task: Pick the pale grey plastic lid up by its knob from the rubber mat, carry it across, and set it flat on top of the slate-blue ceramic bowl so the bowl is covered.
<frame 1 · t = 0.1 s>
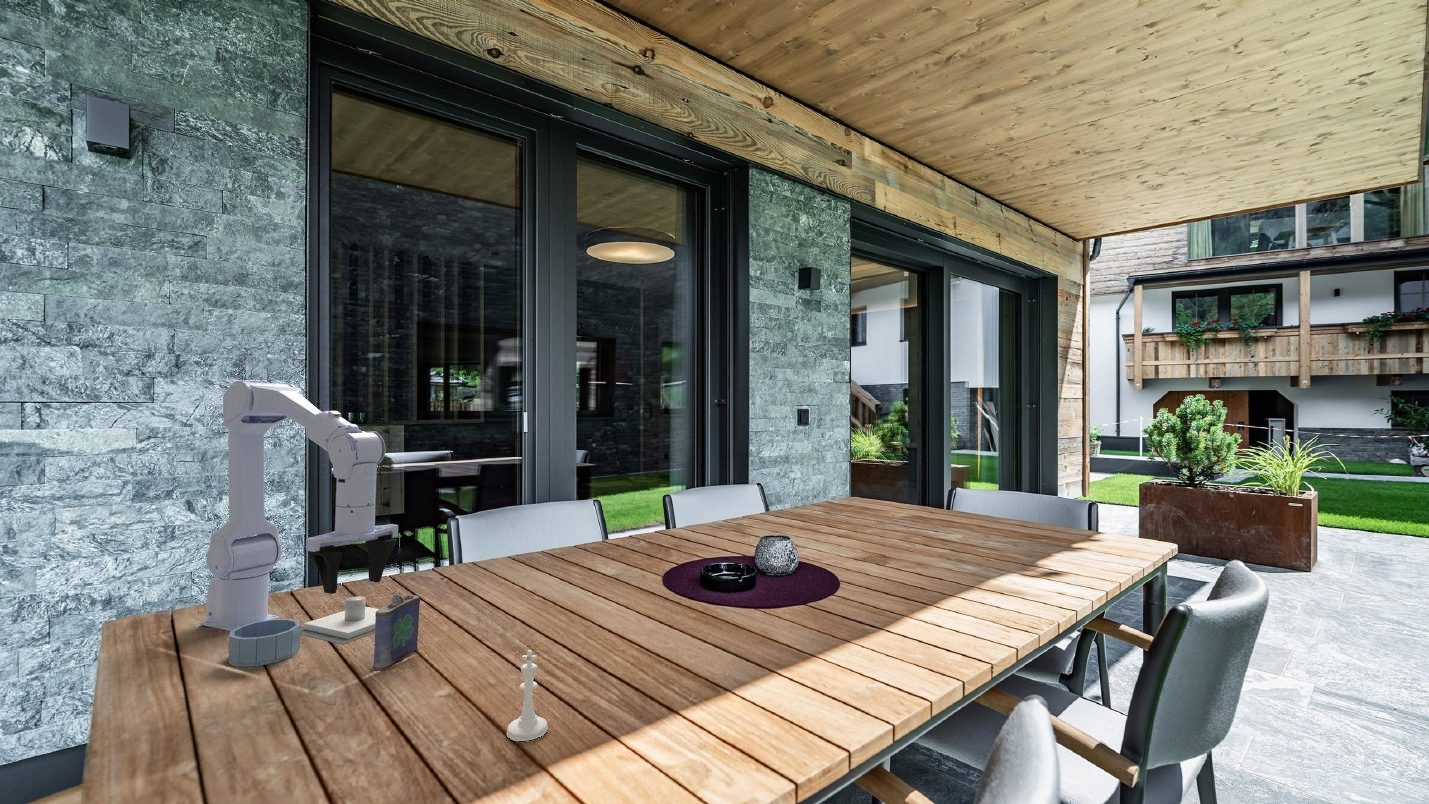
hand: (353, 586, 102), 10 cm above the table, tool pointing down, fingers open, 7 cm apart
chess piece: (527, 733, 77), on the table
flask: (395, 660, 98), on the table
mat: (354, 626, 112), on the table
lid: (354, 623, 112), resting on mat
bowl: (264, 657, 97), on the table
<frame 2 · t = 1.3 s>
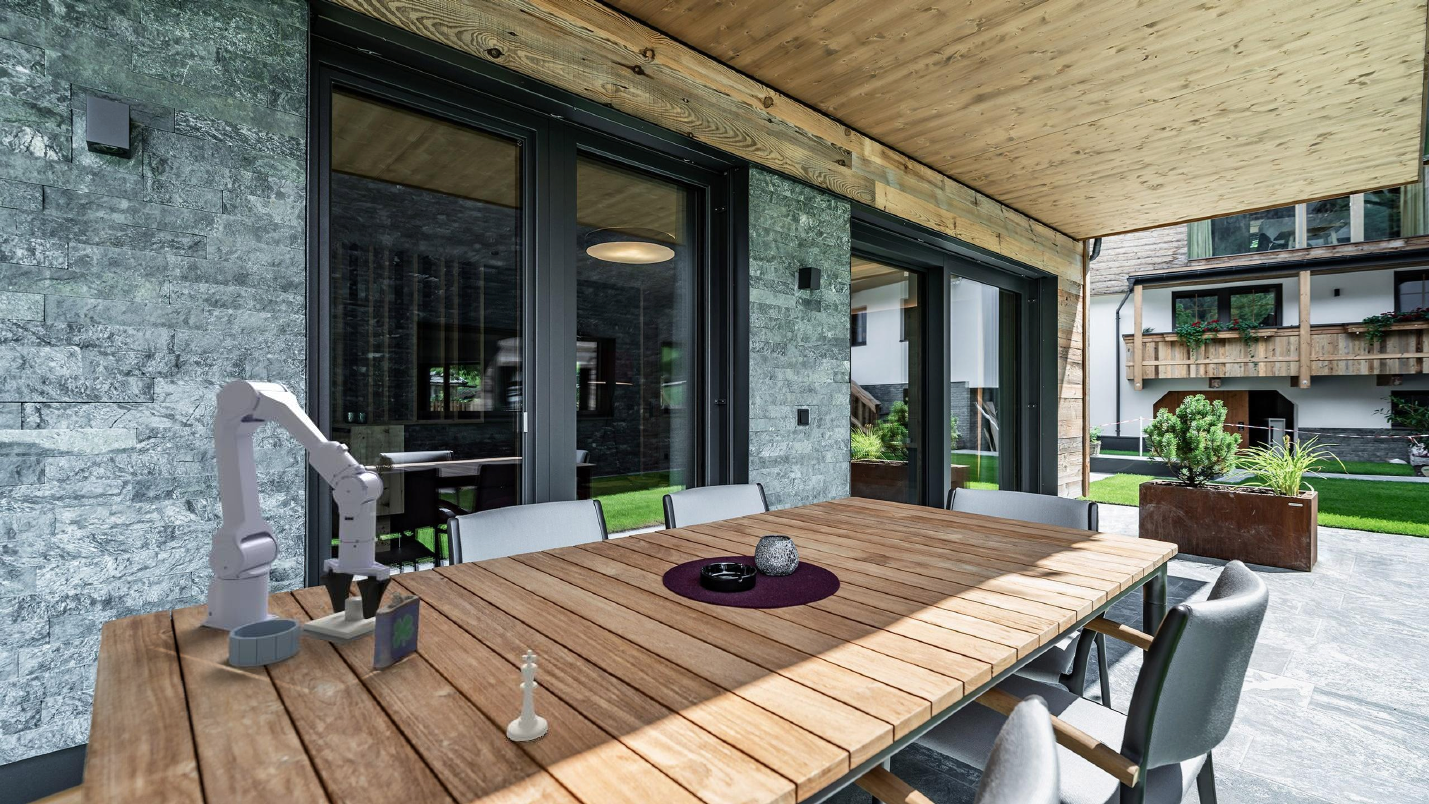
hand: (355, 614, 112), 2 cm above the table, tool pointing down, fingers open, 7 cm apart
nothing on the table moved.
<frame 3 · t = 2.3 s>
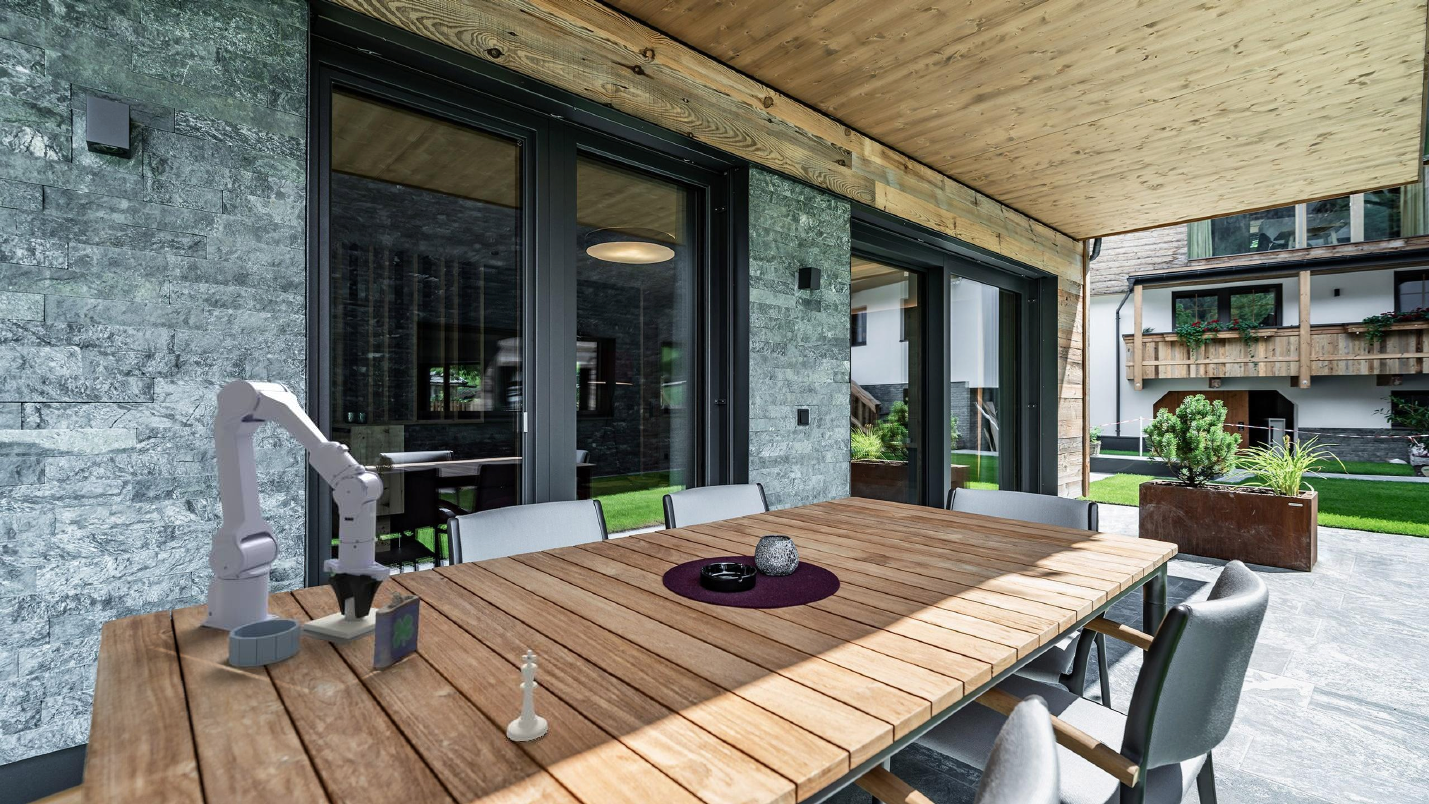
hand: (354, 615, 112), 2 cm above the table, tool pointing down, fingers closed on lid, 3 cm apart
lid: (354, 623, 112), resting on mat, touching gripper
everything else where it was.
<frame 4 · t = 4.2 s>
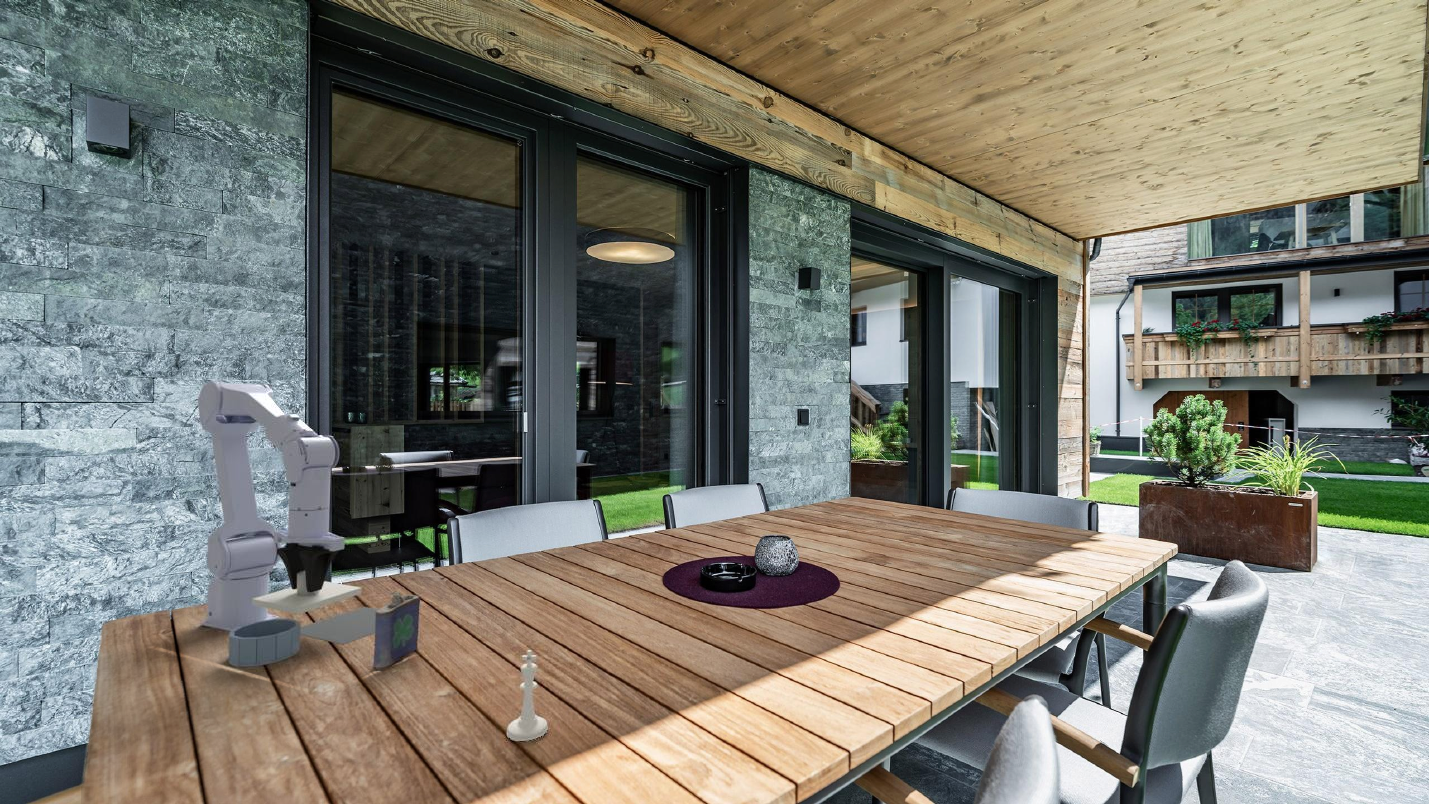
hand: (306, 589, 103), 9 cm above the table, tool pointing down, fingers closed on lid, 3 cm apart
lid: (308, 598, 104), point 7 cm above the table, touching gripper
everything else where it was.
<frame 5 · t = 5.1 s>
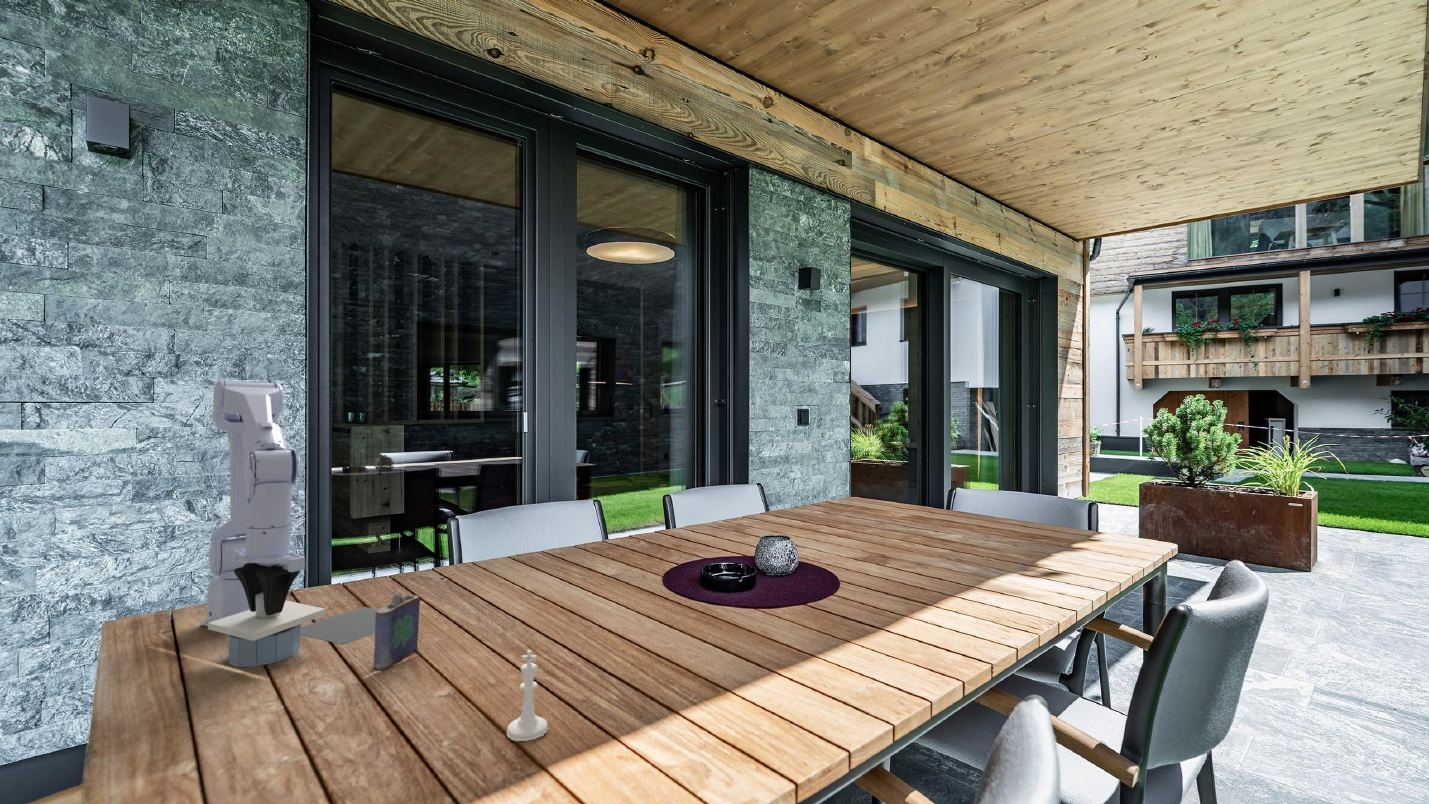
hand: (266, 611, 97), 7 cm above the table, tool pointing down, fingers closed on lid, 3 cm apart
lid: (268, 621, 98), point 5 cm above the table, touching gripper
everything else where it was.
when the fingers open (7 cm above the table, at t = 5.8 s): lid stays where it is, resting on bowl.
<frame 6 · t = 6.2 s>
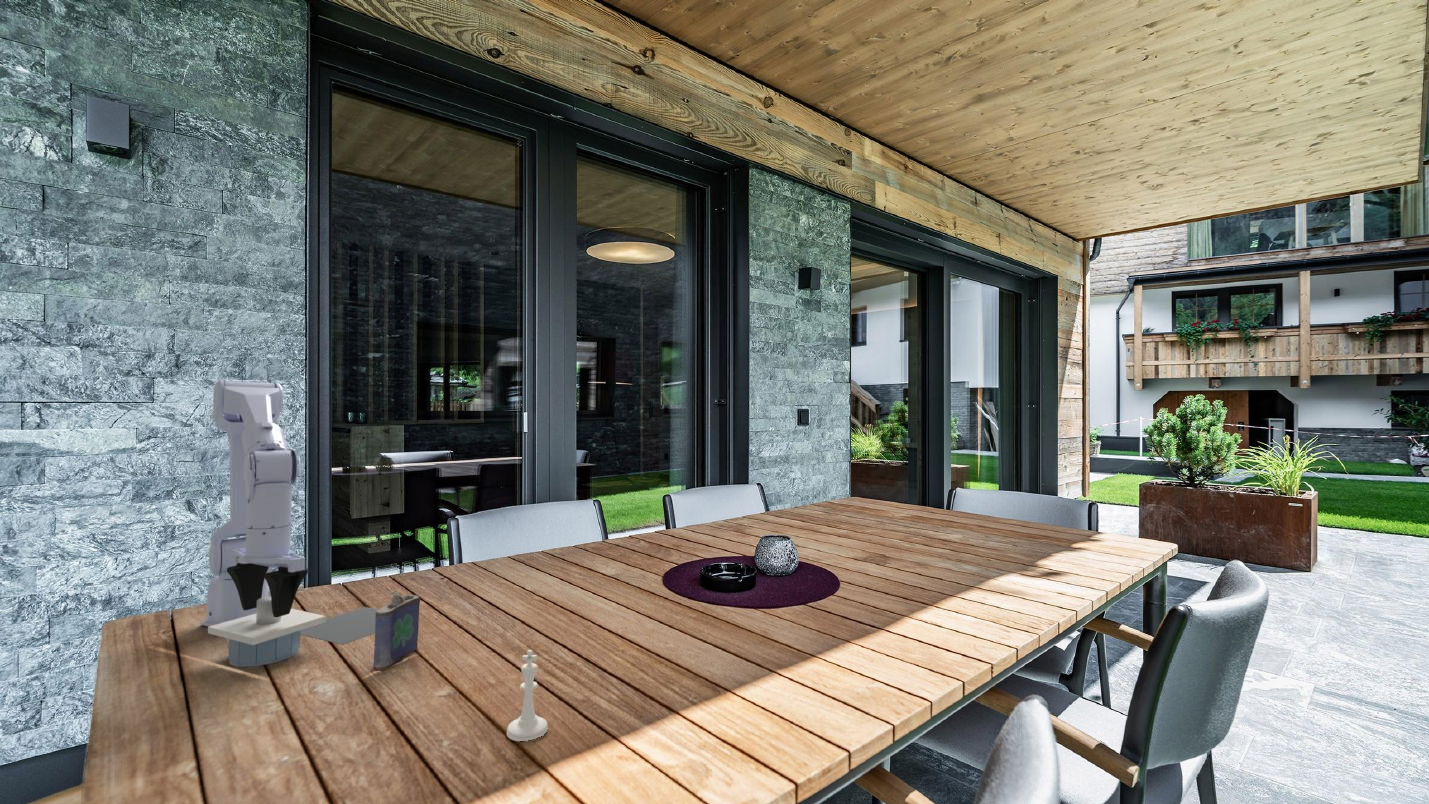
hand: (266, 611, 97), 7 cm above the table, tool pointing down, fingers open, 7 cm apart
lid: (268, 627, 98), point 4 cm above the table, touching bowl
everything else where it was.
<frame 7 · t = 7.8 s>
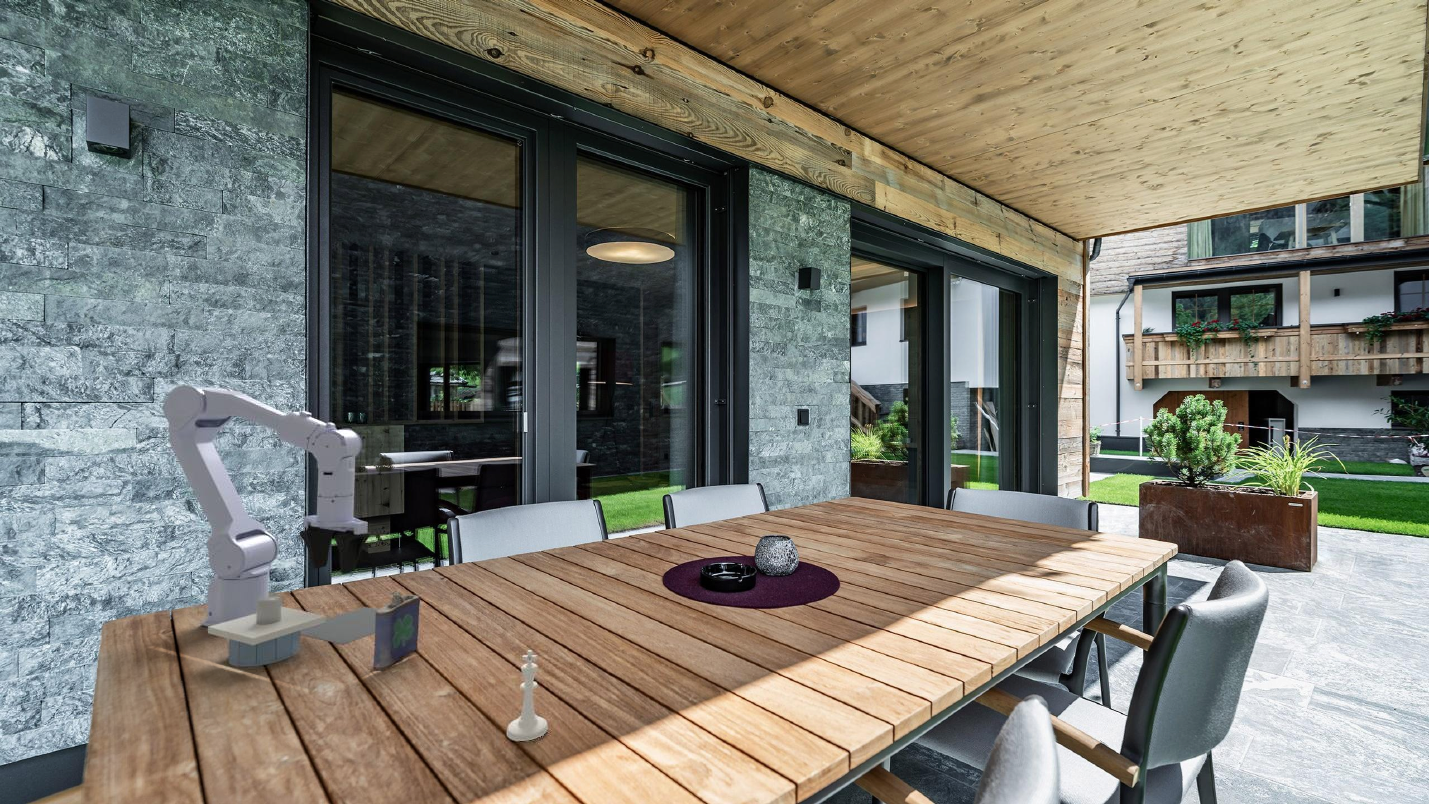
hand: (333, 569, 113), 10 cm above the table, tool pointing down, fingers open, 7 cm apart
nothing on the table moved.
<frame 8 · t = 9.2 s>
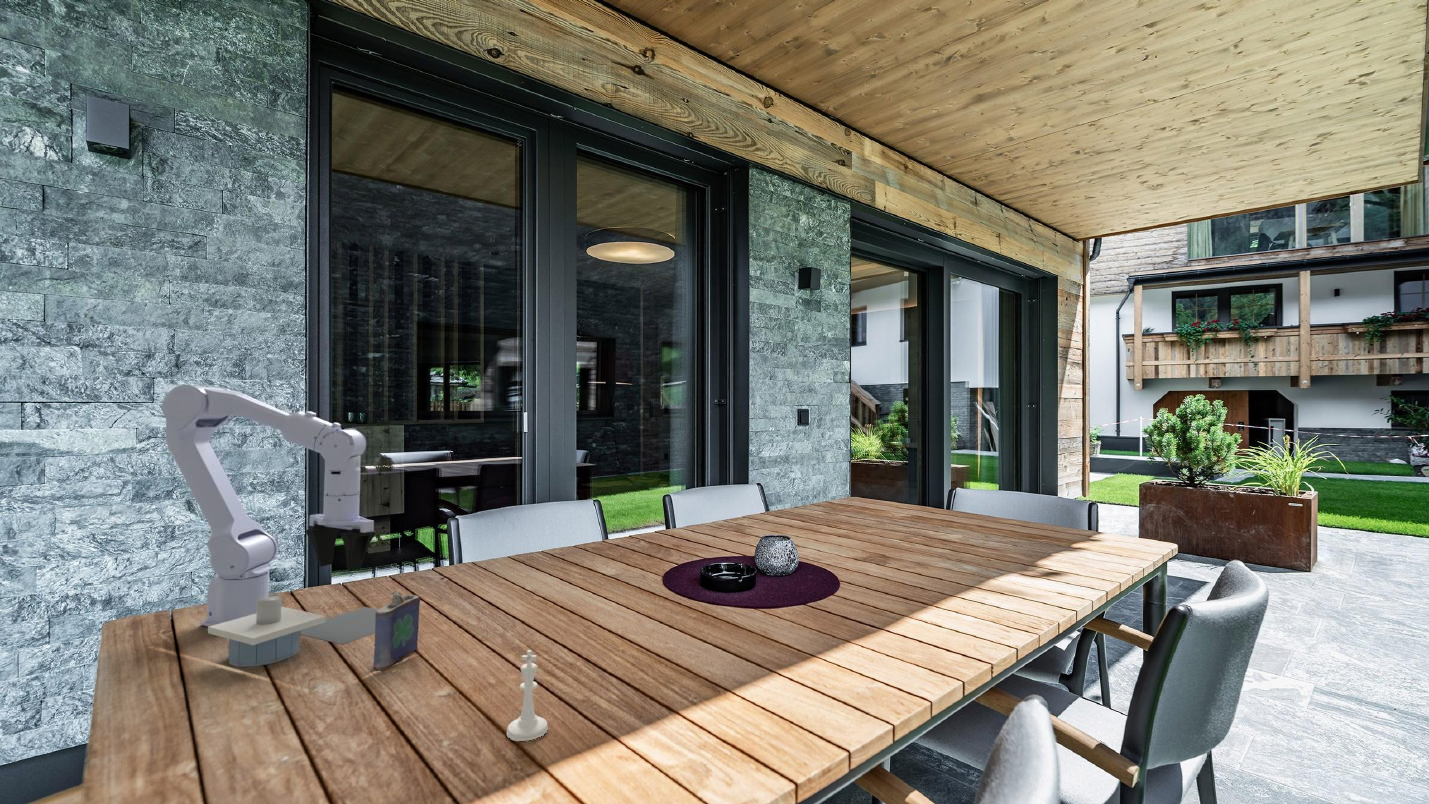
hand: (339, 567, 114), 10 cm above the table, tool pointing down, fingers open, 7 cm apart
nothing on the table moved.
at the end: lid 0.4 cm off-centre on the bowl, point 4.5 cm above the bowl's base; lid tilted 0°; the gripper is holding nothing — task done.
